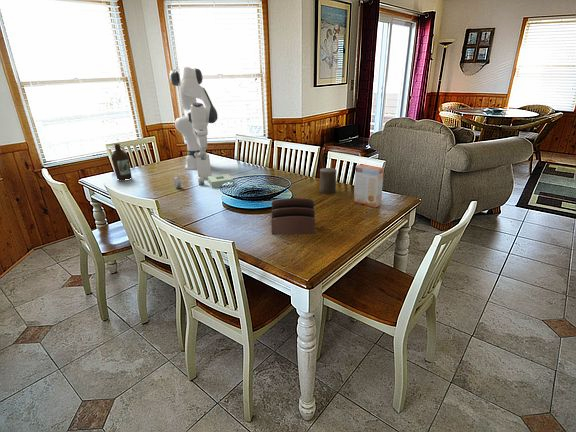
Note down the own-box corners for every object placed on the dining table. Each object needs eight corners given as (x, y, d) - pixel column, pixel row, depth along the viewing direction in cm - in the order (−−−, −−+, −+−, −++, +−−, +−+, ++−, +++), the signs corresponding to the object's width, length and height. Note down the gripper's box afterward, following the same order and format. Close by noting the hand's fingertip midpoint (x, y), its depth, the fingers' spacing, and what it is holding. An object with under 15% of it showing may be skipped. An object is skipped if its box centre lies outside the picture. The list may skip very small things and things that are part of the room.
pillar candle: (334, 194, 201) (335, 170, 195) (318, 193, 203) (319, 169, 197) (336, 189, 210) (337, 165, 204) (320, 188, 212) (320, 165, 206)
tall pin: (200, 159, 218) (198, 143, 214) (206, 158, 219) (204, 142, 216) (201, 160, 215) (199, 144, 211) (206, 159, 216) (205, 143, 212)
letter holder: (272, 225, 163) (271, 198, 158) (313, 224, 163) (314, 197, 158) (271, 234, 154) (270, 206, 149) (315, 234, 154) (315, 205, 149)
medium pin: (175, 187, 221) (173, 177, 218) (180, 186, 222) (179, 176, 219) (175, 189, 217) (173, 178, 215) (181, 188, 219) (179, 177, 216)
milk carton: (211, 175, 244) (208, 149, 236) (208, 178, 237) (205, 151, 230) (201, 175, 244) (198, 149, 237) (198, 178, 238) (195, 151, 230)
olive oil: (114, 179, 240) (106, 144, 231) (129, 176, 247) (122, 141, 237) (119, 182, 233) (111, 146, 223) (135, 179, 240) (127, 143, 230)
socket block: (208, 182, 230) (207, 176, 228) (228, 179, 234) (228, 173, 233) (212, 188, 218) (211, 182, 216) (233, 185, 222) (233, 179, 221)
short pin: (198, 184, 226) (197, 177, 224) (204, 183, 227) (203, 176, 225) (199, 185, 222) (198, 178, 221) (205, 185, 224) (204, 177, 222)
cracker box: (381, 205, 184) (384, 167, 176) (375, 208, 180) (378, 170, 172) (359, 199, 193) (361, 163, 185) (353, 202, 189) (355, 165, 181)
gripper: (193, 128, 218) (195, 150, 224) (197, 133, 201) (200, 156, 206) (203, 128, 220) (205, 149, 226) (207, 132, 203) (210, 155, 208)
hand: (202, 152), depth 216 cm, fingers closed on tall pin, 4 cm apart
